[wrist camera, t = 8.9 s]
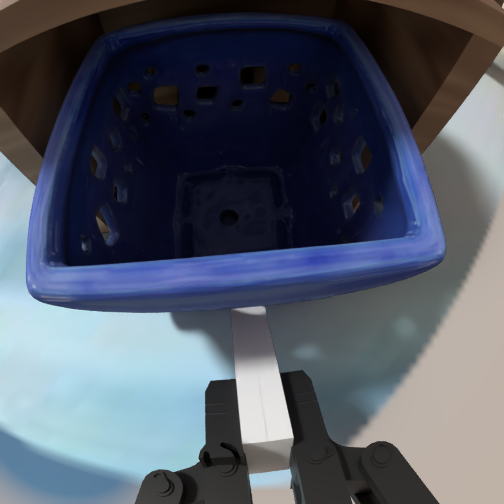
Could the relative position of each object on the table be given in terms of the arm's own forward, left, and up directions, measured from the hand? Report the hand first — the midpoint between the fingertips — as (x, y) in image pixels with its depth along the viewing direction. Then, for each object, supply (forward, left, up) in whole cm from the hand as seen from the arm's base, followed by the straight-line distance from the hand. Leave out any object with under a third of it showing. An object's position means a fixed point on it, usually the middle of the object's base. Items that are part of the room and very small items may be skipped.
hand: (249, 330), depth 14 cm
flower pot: (0, +7, -5) cm, 9 cm away
